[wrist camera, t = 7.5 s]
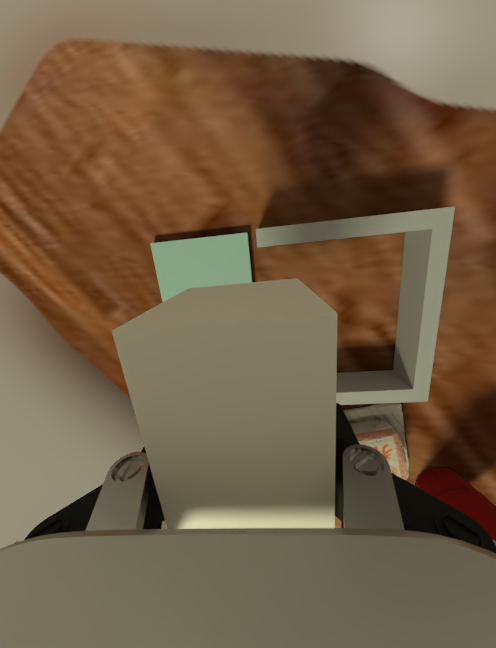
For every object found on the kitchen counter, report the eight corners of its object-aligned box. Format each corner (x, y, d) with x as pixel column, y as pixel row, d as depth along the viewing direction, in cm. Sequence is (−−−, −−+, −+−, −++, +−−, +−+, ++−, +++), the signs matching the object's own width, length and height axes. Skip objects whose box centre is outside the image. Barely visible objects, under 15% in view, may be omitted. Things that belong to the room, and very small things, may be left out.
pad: (247, 232, 24) (247, 232, 24) (262, 387, 30) (262, 391, 29) (153, 243, 25) (150, 243, 25) (184, 391, 31) (182, 395, 30)
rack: (423, 213, 23) (455, 206, 19) (405, 380, 28) (427, 401, 24) (257, 231, 24) (255, 228, 20) (270, 387, 30) (270, 407, 26)
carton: (297, 278, 11) (337, 313, 5) (304, 481, 14) (333, 636, 9) (188, 288, 11) (111, 330, 5) (222, 482, 15) (196, 632, 9)
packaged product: (272, 513, 30) (252, 450, 27) (271, 477, 35) (254, 421, 32) (426, 495, 28) (421, 424, 25) (403, 460, 32) (397, 397, 29)
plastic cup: (411, 443, 31) (497, 560, 19) (495, 460, 31) (632, 587, 19) (381, 503, 34) (440, 632, 23) (457, 518, 34) (554, 656, 23)
